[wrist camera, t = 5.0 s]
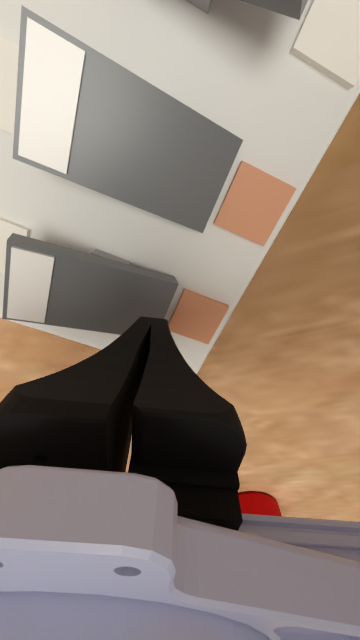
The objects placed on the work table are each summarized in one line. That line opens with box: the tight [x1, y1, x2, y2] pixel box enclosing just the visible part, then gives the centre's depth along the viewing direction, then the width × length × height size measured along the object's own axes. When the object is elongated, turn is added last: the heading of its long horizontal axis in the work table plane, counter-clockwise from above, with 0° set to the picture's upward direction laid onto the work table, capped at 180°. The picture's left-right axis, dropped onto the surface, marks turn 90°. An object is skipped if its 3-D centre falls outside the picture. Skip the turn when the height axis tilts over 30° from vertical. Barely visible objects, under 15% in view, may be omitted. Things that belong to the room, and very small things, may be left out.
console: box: [0, 0, 360, 374], centre depth 12 cm, size 16×24×3 cm, turn 158°
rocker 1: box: [13, 5, 243, 233], centre depth 10 cm, size 8×4×1 cm, turn 68°
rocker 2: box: [2, 233, 179, 335], centre depth 13 cm, size 8×4×1 cm, turn 68°
